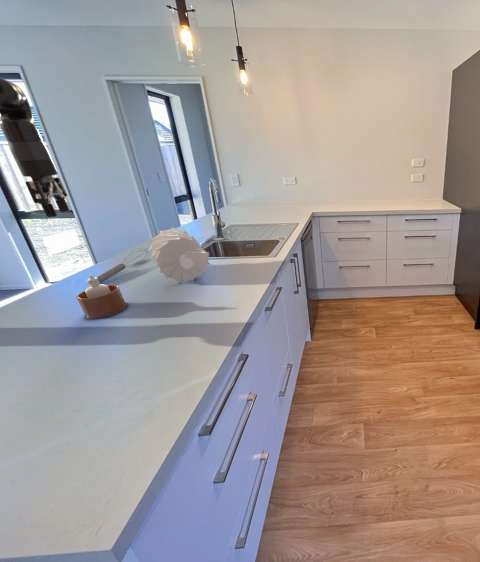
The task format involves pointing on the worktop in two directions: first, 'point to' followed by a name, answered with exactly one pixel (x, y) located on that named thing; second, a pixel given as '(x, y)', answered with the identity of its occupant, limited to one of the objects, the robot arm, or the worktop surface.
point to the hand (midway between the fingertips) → (59, 214)
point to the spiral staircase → (179, 255)
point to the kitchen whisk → (117, 269)
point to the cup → (102, 303)
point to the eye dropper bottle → (96, 288)
